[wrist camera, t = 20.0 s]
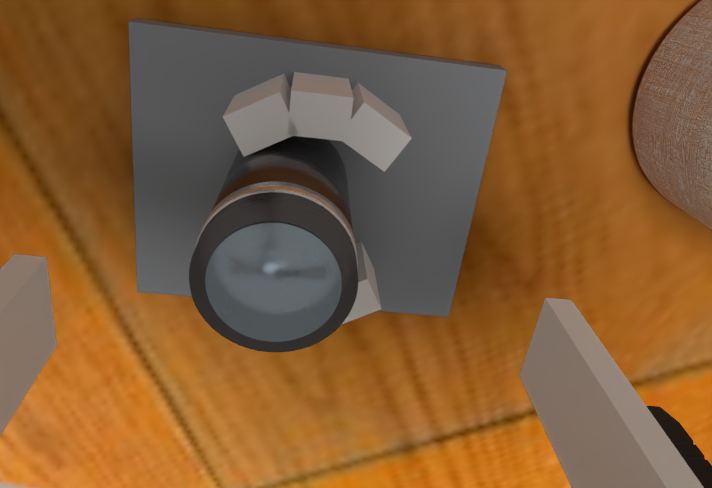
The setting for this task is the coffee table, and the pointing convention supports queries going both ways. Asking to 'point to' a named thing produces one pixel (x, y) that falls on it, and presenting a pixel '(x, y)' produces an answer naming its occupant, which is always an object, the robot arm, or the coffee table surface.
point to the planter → (679, 115)
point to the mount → (315, 120)
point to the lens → (278, 248)
